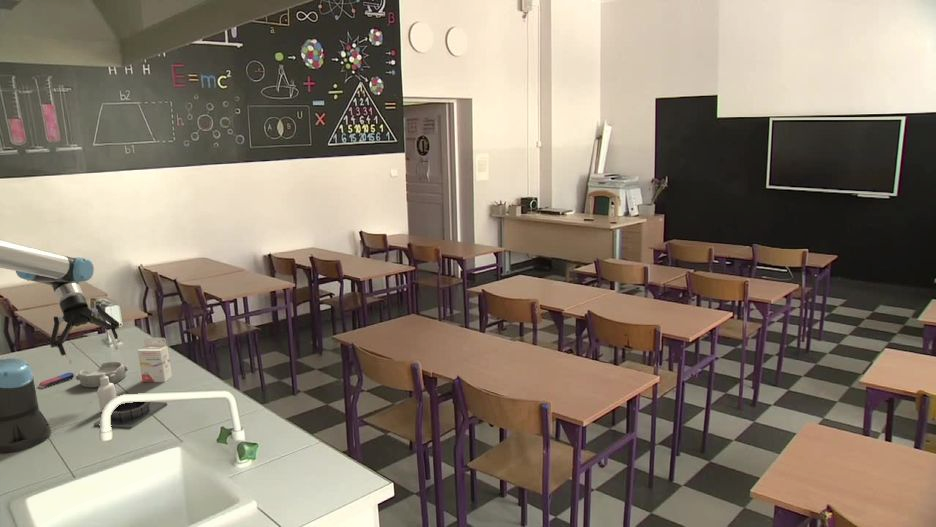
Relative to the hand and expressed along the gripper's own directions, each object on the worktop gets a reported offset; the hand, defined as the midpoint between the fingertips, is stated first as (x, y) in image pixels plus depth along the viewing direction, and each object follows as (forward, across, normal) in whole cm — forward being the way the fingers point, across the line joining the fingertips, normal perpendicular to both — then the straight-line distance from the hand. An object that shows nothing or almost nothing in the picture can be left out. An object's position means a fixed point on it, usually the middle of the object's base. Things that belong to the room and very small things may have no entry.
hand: (94, 355), depth 211 cm
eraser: (-8, +10, -32) cm, 35 cm away
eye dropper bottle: (+19, +1, -2) cm, 19 cm away
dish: (+1, -3, -24) cm, 24 cm away
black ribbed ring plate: (+25, -2, +6) cm, 26 cm away
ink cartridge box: (+10, -17, -14) cm, 24 cm away
